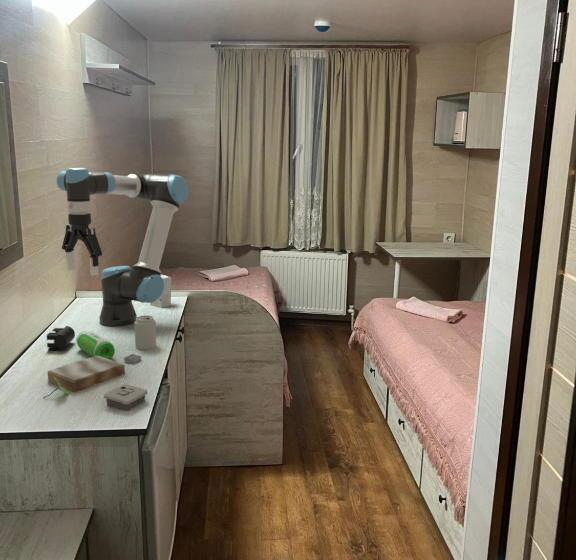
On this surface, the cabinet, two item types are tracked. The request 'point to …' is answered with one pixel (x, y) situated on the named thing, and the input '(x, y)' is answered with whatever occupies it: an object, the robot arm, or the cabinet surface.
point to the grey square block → (132, 358)
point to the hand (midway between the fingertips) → (82, 272)
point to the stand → (86, 373)
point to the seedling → (59, 387)
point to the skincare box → (164, 294)
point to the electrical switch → (125, 397)
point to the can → (145, 333)
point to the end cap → (60, 338)
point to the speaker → (95, 345)
